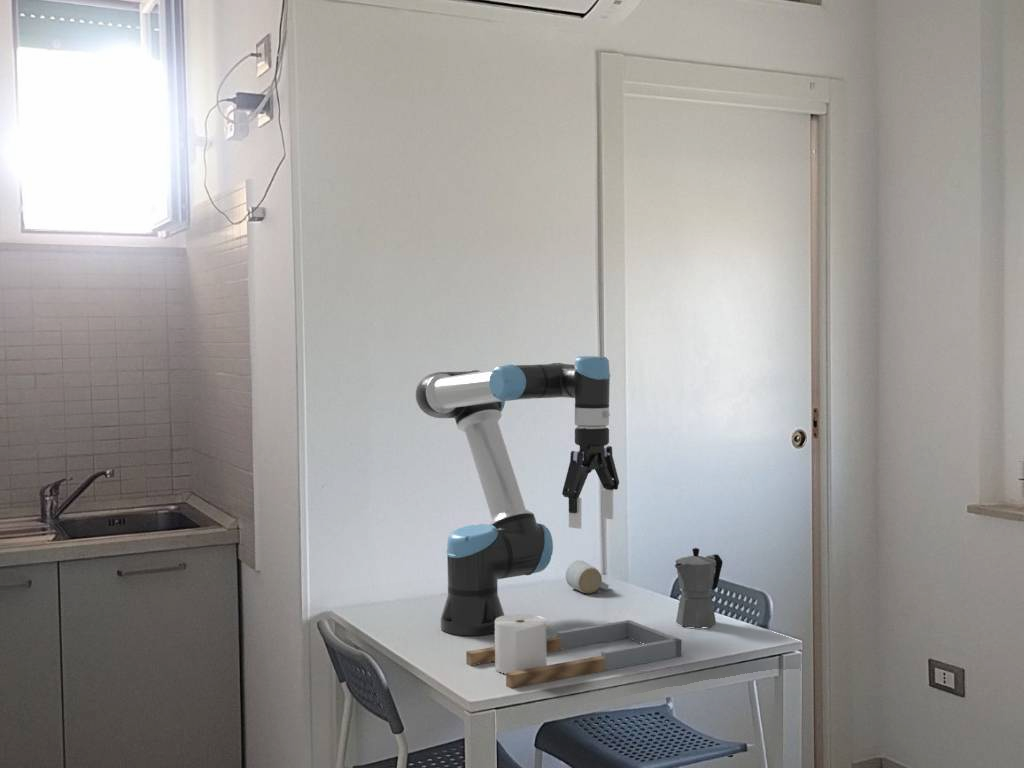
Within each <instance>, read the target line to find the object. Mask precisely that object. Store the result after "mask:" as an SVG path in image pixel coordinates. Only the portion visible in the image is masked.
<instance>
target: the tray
mask: <svg viewBox="0 0 1024 768" xmlns="http://www.w3.org/2000/svg"><path fill="white" fill-rule="evenodd" d="M555 637H558V638H560V639H561V650H564V649H570V648H577V647H581V646H582V645H583V646H587V645H588V644H589V645H594V644H599V643H598V642H600V643H604V641H606V642H610V640H612V641H615V639H618V640H621V638H623V639H629V638H630V640H632V639H633V640H632V641H634V640H636V641H635V642H637V641H638V642H637V643H639V642H641V643H640V644H637V645H630V646H624V647H619V648H614V649H610V650H608V649H607V650H601V651H600V656H601V657H603V658H605V671H609V670H614V669H620V668H625V667H631V666H634V665H635V666H636V665H642V664H645V663H651V662H657V661H663V660H667V659H672V658H673V659H674V658H678V657H679V658H680V657H682V639H681V638H677V637H675V636H674V635H673V636H672V635H670V634H668V633H665V632H662V631H659V630H656V629H654V628H651V627H649V626H646V625H643V624H640V623H638V622H636V621H633V620H629V619H628V620H626V619H625V620H621V621H614V622H608V623H604V624H597V625H591V626H585V627H577V628H573V629H566V630H560V631H555ZM627 637H628V638H627ZM642 643H644V644H642ZM583 646H582V647H583Z"/></svg>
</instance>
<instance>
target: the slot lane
mask: <svg viewBox="0 0 1024 768" xmlns="http://www.w3.org/2000/svg"><path fill="white" fill-rule="evenodd" d="M546 640H547V642H546V643H547V645H546V647H547V653H553V652H558V651H562V649H561V639H560V638H558V637H556V636H552V637H547V638H546ZM465 653H466V662H467V663H469V664H470V665H472V666H474V665H473V664H478V663H484V664H486V663H485V662H489V661H495V646H492V647H490V646H489V647H484V648H478V649H474V650H473V649H472V650H467V651H466V652H465ZM467 663H466V664H467ZM469 664H468V665H469ZM470 665H469V666H470ZM478 665H479V664H478ZM605 671H606V670H605V658H603V657H601V655H597V656H591V657H587V658H581V659H576V660H575V659H574V660H570V661H569V660H568V661H564V662H559V663H554V664H547V666H541V667H535V668H530V669H524V670H519V671H513V672H508V673H506V674H505V685H506V687H508V688H509V689H514V688H519V687H524V686H525V687H527V686H530V685H536V684H540V683H545V682H547V683H548V682H552V681H556V680H563V679H567V678H572V677H579V676H585V675H589V674H593V673H599V672H605Z"/></svg>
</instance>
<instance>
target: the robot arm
mask: <svg viewBox="0 0 1024 768" xmlns="http://www.w3.org/2000/svg"><path fill="white" fill-rule="evenodd" d="M610 378H611V374H610V361H609V359H608V358H607V356H602V355H601V356H600V355H598V356H597V355H596V356H595V355H586V356H585V355H584V356H582V355H579V356H577V357H576V358H575V360H574V364H571V363H570V364H569V363H563V362H553V363H546V364H518V365H517V364H516V365H514V364H505V365H499V366H496V367H495V368H490V369H486V370H476V369H475V370H471V371H469V370H467V371H439V372H434V373H430V374H428V375H426V376H424V377H423V378H422V379H421V380H420V381H419V383H418V384H417V386H416V390H415V400H416V401H415V402H416V403H417V406H418V407H419V409H420V410H421V411H422V412H423V413H425V414H426V415H428V416H430V417H433V418H436V419H455V422H456V426H457V429H458V430H460V431H461V432H464V433H465V435H466V438H467V442H468V445H469V448H470V452H471V455H472V459H473V462H474V465H475V468H476V471H477V474H478V478H479V480H480V485H481V489H482V491H483V495H484V497H485V498H484V499H485V501H486V505H487V507H488V510H489V513H490V517H491V522H490V524H487V523H486V524H485V523H484V524H483V523H482V524H476V525H475V524H472V525H465V526H462V527H460V528H459V527H458V528H457V529H455V530H453V531H451V532H450V534H449V535H448V538H447V546H446V547H447V549H446V555H447V597H446V600H445V604H444V605H443V606H444V608H443V611H442V613H441V617H440V629H441V631H443V632H446V633H449V634H451V635H456V636H457V635H459V636H483V635H484V636H485V635H490V634H495V619H496V618H498V617H500V616H505V615H506V614H505V613H504V609H503V606H502V604H501V601H500V600H501V599H500V597H499V594H498V593H499V592H498V590H499V589H498V584H499V583H498V582H499V581H498V580H502V579H508V578H515V577H520V576H531V575H532V574H536V573H540V572H542V571H544V570H546V568H548V566H549V564H550V563H551V559H552V556H553V554H554V553H553V551H554V542H553V537H552V533H551V531H550V529H549V527H547V526H546V525H545V524H542V523H539V522H538V523H537V520H536V517H535V513H533V512H532V511H529V510H528V509H527V508H526V506H525V503H524V500H523V497H522V494H521V490H520V487H519V485H518V484H519V483H518V481H517V477H516V475H515V472H514V469H513V465H512V462H511V460H510V459H511V458H510V455H509V452H508V450H507V446H506V443H505V441H504V438H503V433H502V431H501V427H500V424H499V421H500V420H501V418H502V412H503V409H504V407H505V404H506V402H509V401H518V400H529V399H551V398H552V399H553V398H571V399H574V425H575V426H576V427H575V428H574V444H575V445H577V446H579V449H578V450H577V451H576V450H571V452H570V461H569V465H568V467H567V472H566V477H565V480H564V484H563V487H562V488H563V489H562V492H561V493H562V496H563V497H564V498H568V528H572V529H582V497H580V494H581V493H582V491H583V488H584V485H585V483H586V481H587V478H588V475H589V474H590V473H592V471H593V470H595V473H596V475H597V476H598V479H599V481H600V483H601V485H602V487H603V488H601V491H600V518H601V519H605V520H613V519H614V491H616V490H619V485H620V479H619V476H618V472H617V469H616V464H615V459H614V457H613V447H612V446H609V443H610V429H609V428H608V425H610V416H611V415H610Z"/></svg>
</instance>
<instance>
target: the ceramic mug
mask: <svg viewBox="0 0 1024 768" xmlns="http://www.w3.org/2000/svg"><path fill="white" fill-rule="evenodd" d="M565 571H566V572H565V580H566V583H567V585H568V586H569V587H571V588H572V589H575V590H576V591H579V592H580V593H583V594H588V595H589V594H590V593H591V594H594V593H595V592H597V591H598V590H599V589H602V590H604V591H608V590H609V589H608V588H609V586H610V585H609V584H608V583H606V582H604V581H603V577H602V575H601V573H600V571H599V569H597V568H596V567H594V566H592V565H591V564H589V563H588V562H586V561H584V560H575V561H573V562H571V563H570V564H569V565H568V567H567V568H566V570H565Z"/></svg>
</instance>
